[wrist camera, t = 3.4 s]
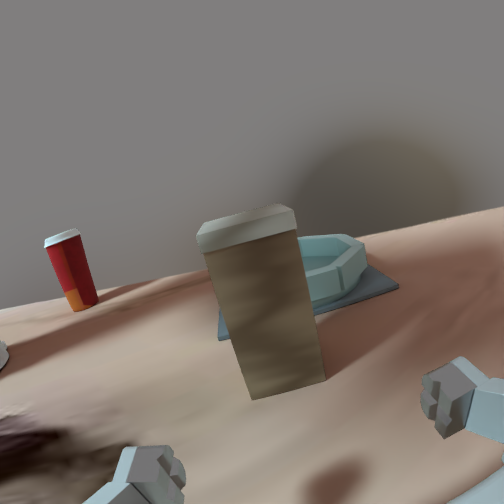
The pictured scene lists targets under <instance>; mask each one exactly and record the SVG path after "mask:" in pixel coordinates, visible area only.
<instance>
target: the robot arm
mask: <svg viewBox="0 0 504 504" xmlns="http://www.w3.org/2000/svg"><path fill="white" fill-rule="evenodd" d="M6 349H7V345H6V343H5V342H4V341H2V342H1V341H0V369H1V368H2V367H3V366H4V364H5V363H6V362H7V360H8V358H9V354H8V352H7V351H6ZM422 386H423V387H424V390H423V392H422V393H421V400H420V402H421V406H422V410H423V412H424V414H425V415H426V417H427V418H428V419H430V420H434V421H435V429H436V430H437V431H438V432H439V434H440V435H441V436H442V438H443V439H446V438H448V437H449V436H451V435H453V434H455V433H457V432H459V431H460V430H462V429H464V428H465V429H466V430H468V431H471V432H473V433H476V434H479V435H481V436H484V437H487V438H489V439H492V440H495V441H498V442H500V443H503V444H504V379H501V378H495V377H493V378H491V379H489V378H488V377H487V376H486V375H485V374H483V373H482V372H481V371H480V370H479V369H478V368H476V367H475V366H474V365H473V364H472V363H471V362H469V361H468V360H467V359H466V358H465V357H462V356H459V357H458V358H456V359H454V360H452V361H450V362H449V363H446V364H444V365H443V366H441V367H439V368H437V369H435V370H433V371H431V372H429V373H427V374H424V375H423V378H422ZM173 455H174V451H173V450H172V448H171V447H170V446H169V445H159V446H139V447H125V448H124V449H123V451H122V454H121V457H120V460H119V463H118V466H117V469H116V472H115V475H114V478H113V481H112V482H108V483H107V484H106V485H105V486H103V487H102V488H101V489H100V490H99V491H97V492H96V493H95V494H94V495H93V496H91V497H90V498H89V499H88V500H86V501H85V502H84V503H83V504H184V496H185V495H184V494H183V493H182V492H181V490H182V488H183V487H184V486H185V485H186V474H185V469H184V467H183V464H182V463H181V461H180V460H178V459H176V458H175V457H173ZM501 461H502V462H503V463H504V453H503V455H502V458H501ZM446 504H504V466H503V467H501V468H500V469H499V470H497V471H496V472H495V473H493V474H492V475H490V476H489V477H487V478H486V479H485V480H483V481H482V482H480V483H479V484H477V485H476V486H474V487H472V488H471V489H469V490H468V491H466V492H465V493H463V494H461V495H460V496H458V497H456V498H455V499H453V500H451V501H449V502H448V503H446Z"/></svg>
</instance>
